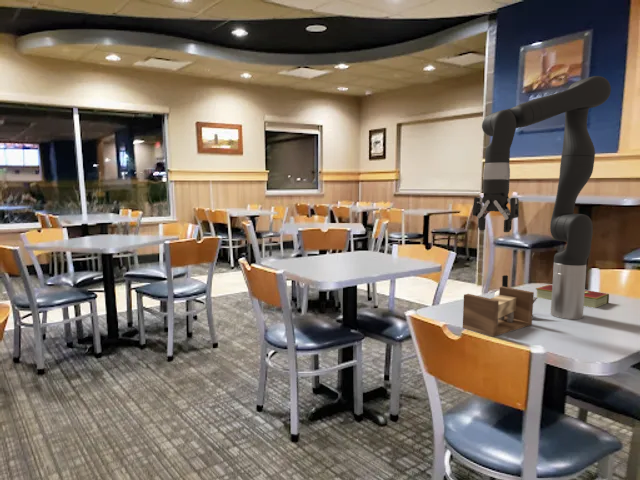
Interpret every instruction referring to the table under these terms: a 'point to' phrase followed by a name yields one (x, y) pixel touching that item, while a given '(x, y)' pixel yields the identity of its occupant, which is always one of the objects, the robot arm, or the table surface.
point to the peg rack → (484, 312)
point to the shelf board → (505, 305)
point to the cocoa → (504, 284)
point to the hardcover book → (590, 297)
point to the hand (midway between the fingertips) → (494, 231)
